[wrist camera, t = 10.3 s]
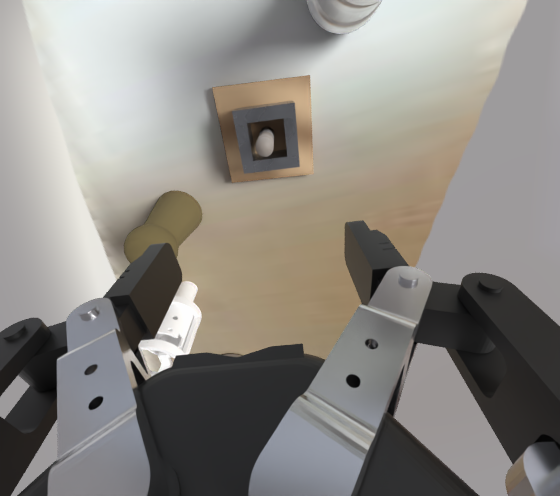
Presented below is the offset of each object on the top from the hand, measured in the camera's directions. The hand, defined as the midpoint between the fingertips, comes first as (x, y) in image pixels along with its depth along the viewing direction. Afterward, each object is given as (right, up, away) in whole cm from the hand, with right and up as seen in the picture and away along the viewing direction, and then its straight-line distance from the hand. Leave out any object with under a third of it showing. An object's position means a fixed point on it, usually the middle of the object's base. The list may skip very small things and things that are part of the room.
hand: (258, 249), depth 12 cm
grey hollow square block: (0, +13, +17) cm, 21 cm away
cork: (-13, +5, +23) cm, 27 cm away
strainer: (-14, -6, +31) cm, 34 cm away
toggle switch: (0, +13, +18) cm, 22 cm away
